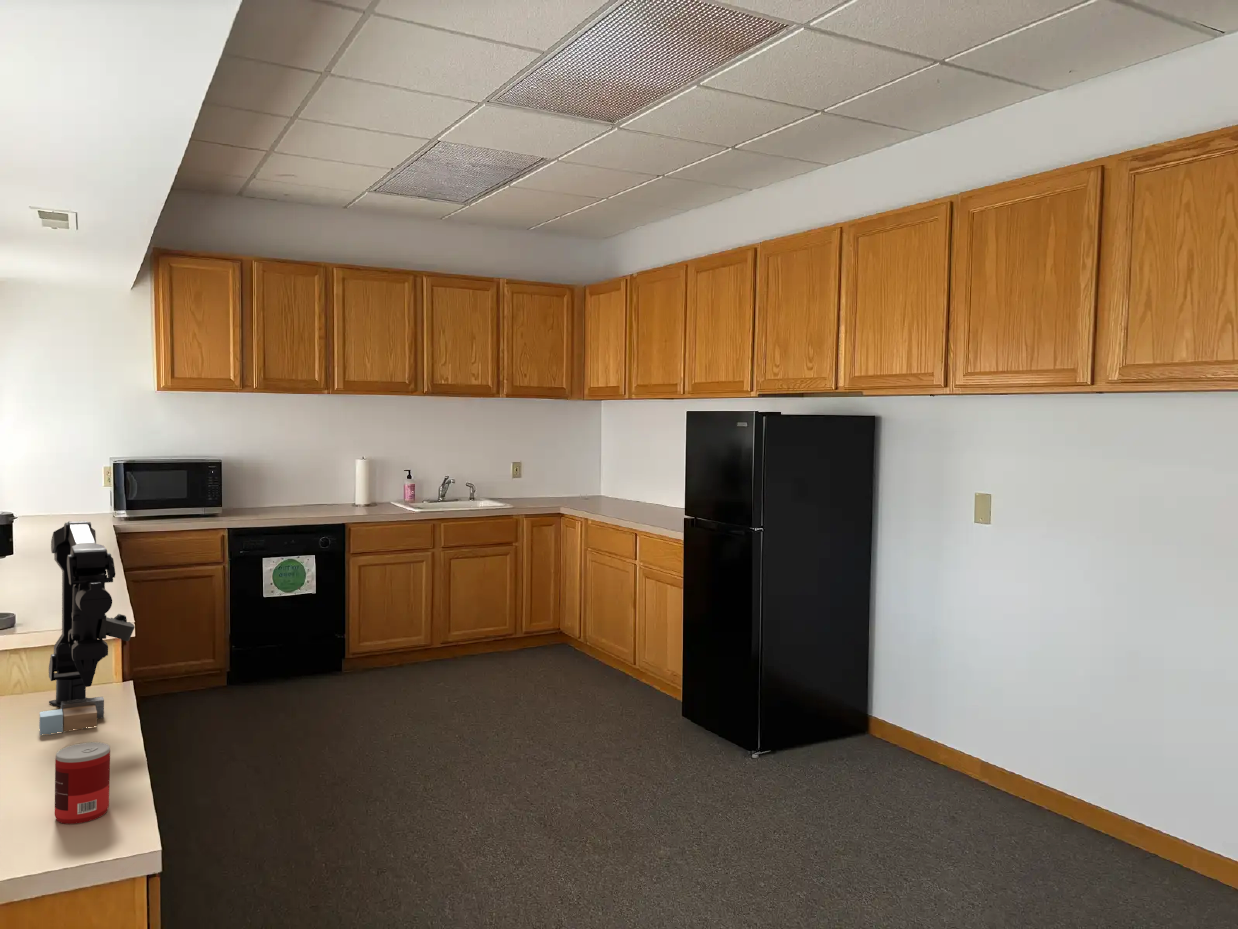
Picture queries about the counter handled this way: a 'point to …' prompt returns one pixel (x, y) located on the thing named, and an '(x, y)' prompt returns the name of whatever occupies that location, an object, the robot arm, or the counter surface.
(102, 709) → the block
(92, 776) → the canned food
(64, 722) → the brown square block
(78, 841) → the counter surface
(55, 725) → the block
